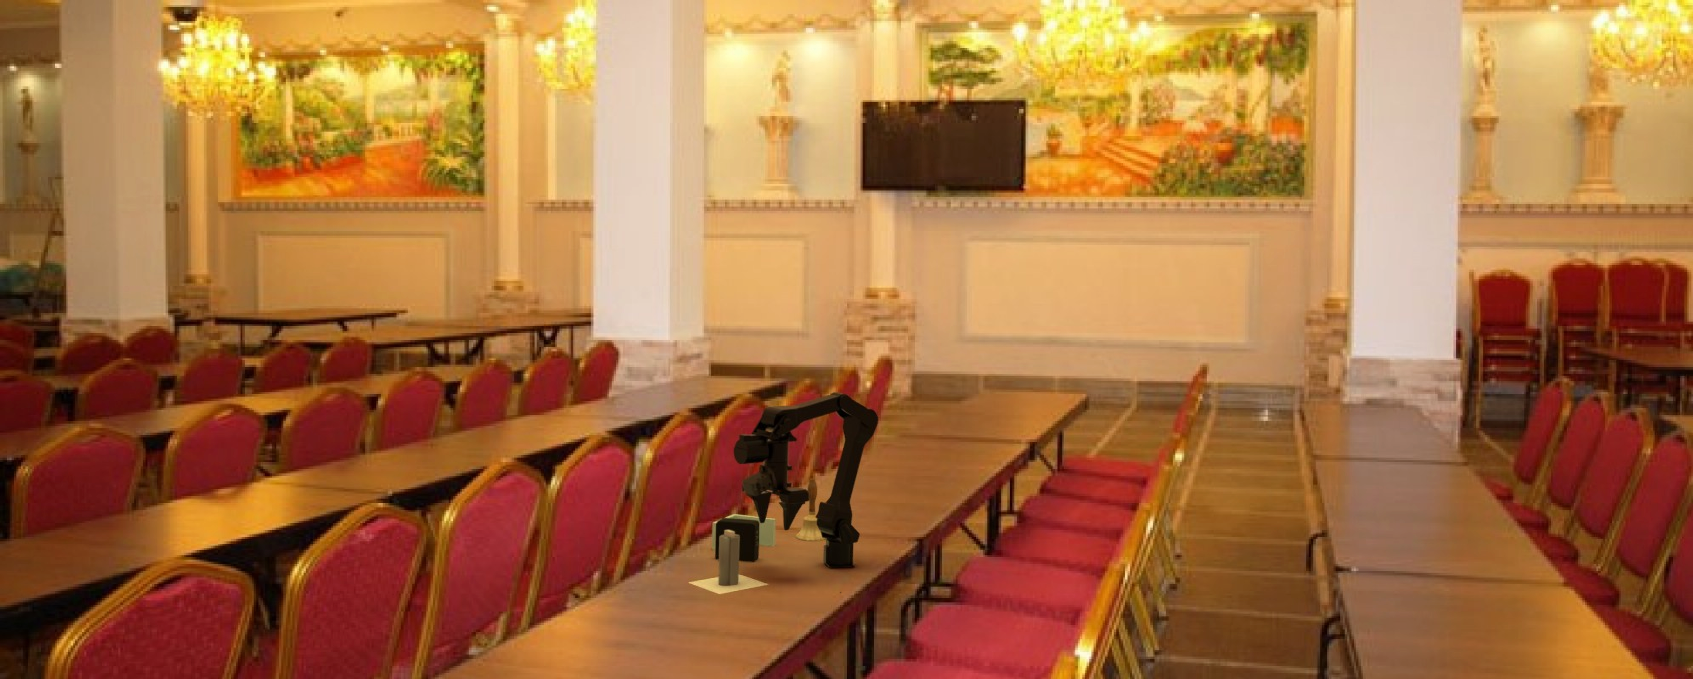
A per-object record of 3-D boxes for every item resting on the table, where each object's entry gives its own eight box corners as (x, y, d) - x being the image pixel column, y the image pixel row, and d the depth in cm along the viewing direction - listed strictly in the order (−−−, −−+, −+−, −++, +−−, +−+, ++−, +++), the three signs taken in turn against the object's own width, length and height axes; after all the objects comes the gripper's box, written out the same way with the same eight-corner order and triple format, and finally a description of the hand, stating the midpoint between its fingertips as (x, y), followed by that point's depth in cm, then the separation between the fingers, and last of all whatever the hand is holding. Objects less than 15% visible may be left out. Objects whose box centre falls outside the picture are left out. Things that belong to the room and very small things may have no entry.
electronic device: (754, 564, 329) (755, 523, 328) (714, 560, 331) (715, 520, 330) (758, 560, 333) (759, 520, 332) (719, 556, 335) (720, 517, 334)
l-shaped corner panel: (712, 551, 342) (712, 522, 342) (733, 542, 353) (734, 514, 353) (754, 557, 338) (755, 527, 337) (774, 547, 349) (775, 518, 348)
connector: (731, 579, 312) (733, 527, 311) (742, 583, 309) (743, 531, 308) (714, 583, 308) (715, 530, 307) (724, 586, 305) (726, 533, 304)
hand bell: (826, 541, 355) (828, 481, 354) (794, 540, 355) (796, 480, 354) (827, 534, 363) (829, 476, 362) (796, 533, 364) (798, 475, 362)
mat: (737, 575, 318) (737, 573, 317) (768, 586, 309) (768, 584, 309) (688, 584, 308) (688, 582, 308) (719, 596, 299) (719, 593, 299)
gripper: (724, 458, 318) (723, 523, 319) (773, 470, 304) (771, 538, 305) (762, 454, 325) (760, 517, 326) (811, 465, 311) (809, 532, 312)
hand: (774, 526), depth 317 cm, fingers open, 9 cm apart
